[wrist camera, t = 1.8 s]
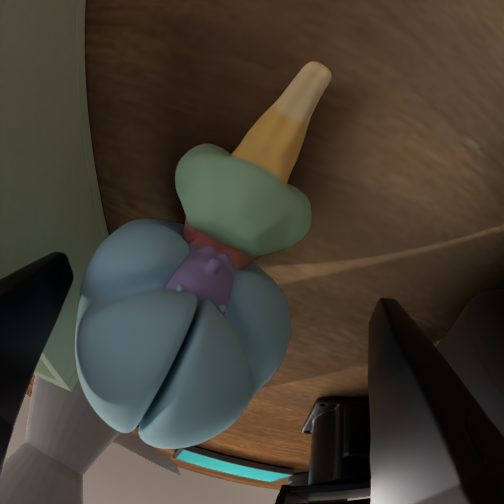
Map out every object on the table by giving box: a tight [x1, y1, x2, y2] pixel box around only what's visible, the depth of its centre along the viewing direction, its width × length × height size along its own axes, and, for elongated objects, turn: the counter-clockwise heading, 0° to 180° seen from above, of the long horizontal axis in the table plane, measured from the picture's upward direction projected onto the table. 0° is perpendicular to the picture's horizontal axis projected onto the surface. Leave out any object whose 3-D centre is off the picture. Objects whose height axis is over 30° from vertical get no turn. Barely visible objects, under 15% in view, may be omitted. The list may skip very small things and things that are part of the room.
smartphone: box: [173, 446, 294, 482], centre depth 33 cm, size 7×1×15 cm
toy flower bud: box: [75, 62, 331, 449], centre depth 8 cm, size 7×9×12 cm
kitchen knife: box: [114, 432, 180, 475], centre depth 30 cm, size 22×1×3 cm, turn 32°
